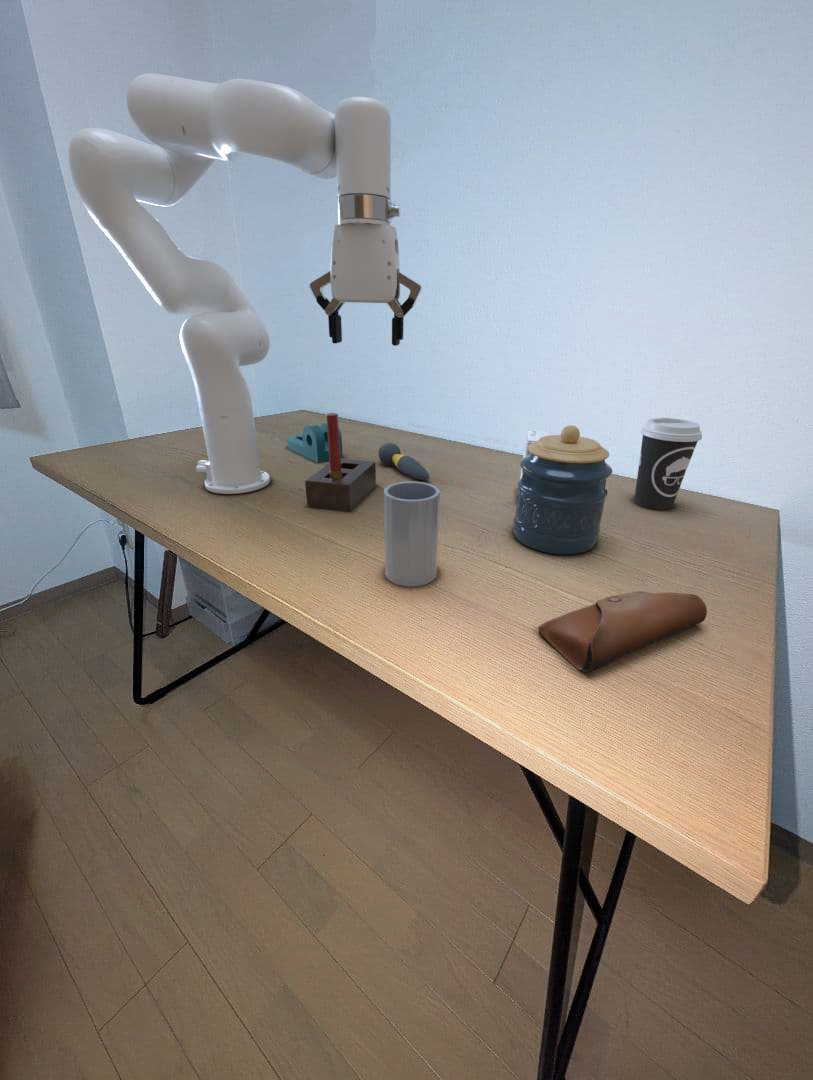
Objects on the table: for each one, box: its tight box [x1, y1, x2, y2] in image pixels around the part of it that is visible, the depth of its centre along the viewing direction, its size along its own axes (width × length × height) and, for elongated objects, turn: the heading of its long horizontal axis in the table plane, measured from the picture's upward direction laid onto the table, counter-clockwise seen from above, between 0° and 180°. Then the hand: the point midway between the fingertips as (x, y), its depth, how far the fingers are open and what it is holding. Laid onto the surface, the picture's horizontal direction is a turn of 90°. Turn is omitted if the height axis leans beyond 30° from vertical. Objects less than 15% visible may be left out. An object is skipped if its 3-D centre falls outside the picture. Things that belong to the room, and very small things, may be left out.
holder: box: [304, 458, 377, 512], centre depth 90 cm, size 8×14×5 cm, turn 165°
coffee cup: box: [633, 417, 703, 511], centre depth 84 cm, size 10×10×15 cm
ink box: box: [519, 430, 554, 480], centre depth 88 cm, size 9×5×12 cm, turn 167°
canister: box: [512, 424, 613, 555], centre depth 71 cm, size 13×13×18 cm
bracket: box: [286, 422, 344, 464], centre depth 116 cm, size 18×7×8 cm, turn 39°
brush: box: [325, 412, 342, 479], centre depth 85 cm, size 3×3×16 cm
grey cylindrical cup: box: [383, 481, 441, 588], centre depth 62 cm, size 7×7×12 cm
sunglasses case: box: [537, 590, 708, 673], centre depth 52 cm, size 18×7×7 cm
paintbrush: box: [377, 442, 430, 481], centre depth 104 cm, size 20×5×5 cm, turn 38°
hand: (366, 343), depth 75 cm, fingers open, 9 cm apart
